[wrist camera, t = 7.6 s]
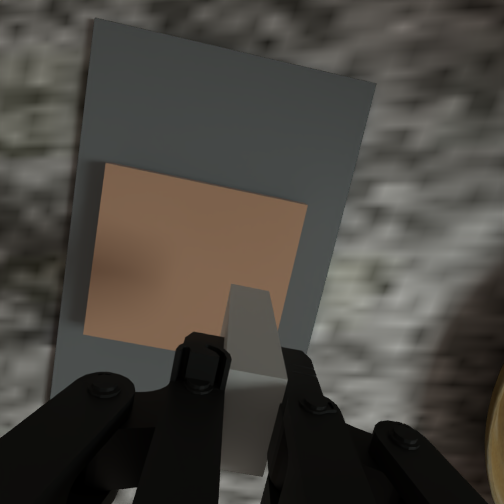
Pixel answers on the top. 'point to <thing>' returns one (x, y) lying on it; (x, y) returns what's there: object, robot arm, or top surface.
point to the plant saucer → (496, 441)
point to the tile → (183, 255)
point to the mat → (207, 166)
